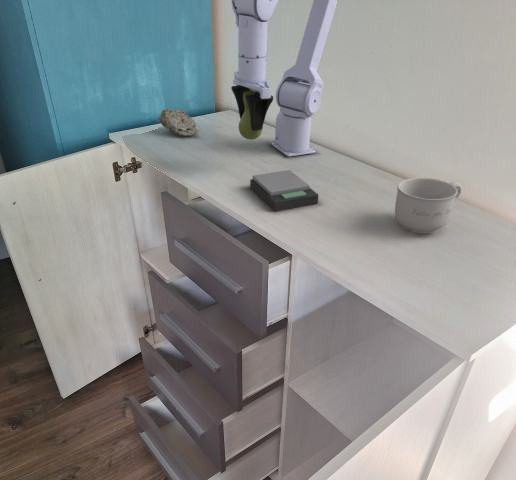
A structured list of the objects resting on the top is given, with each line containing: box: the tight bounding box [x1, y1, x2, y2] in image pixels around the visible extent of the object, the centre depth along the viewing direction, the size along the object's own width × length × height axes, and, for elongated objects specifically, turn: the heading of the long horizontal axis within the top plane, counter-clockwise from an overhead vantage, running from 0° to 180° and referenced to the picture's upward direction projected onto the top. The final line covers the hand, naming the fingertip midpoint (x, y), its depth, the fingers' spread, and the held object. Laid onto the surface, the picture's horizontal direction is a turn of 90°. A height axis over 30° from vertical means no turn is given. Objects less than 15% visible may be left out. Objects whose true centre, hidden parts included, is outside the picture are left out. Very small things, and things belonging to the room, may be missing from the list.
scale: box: [249, 169, 319, 212], centre depth 106 cm, size 12×10×3 cm
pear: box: [238, 90, 264, 141], centre depth 109 cm, size 6×5×10 cm
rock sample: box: [157, 108, 199, 137], centre depth 134 cm, size 10×8×9 cm
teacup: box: [394, 177, 463, 234], centre depth 96 cm, size 14×11×8 cm
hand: (251, 125), depth 111 cm, fingers closed on pear, 5 cm apart
